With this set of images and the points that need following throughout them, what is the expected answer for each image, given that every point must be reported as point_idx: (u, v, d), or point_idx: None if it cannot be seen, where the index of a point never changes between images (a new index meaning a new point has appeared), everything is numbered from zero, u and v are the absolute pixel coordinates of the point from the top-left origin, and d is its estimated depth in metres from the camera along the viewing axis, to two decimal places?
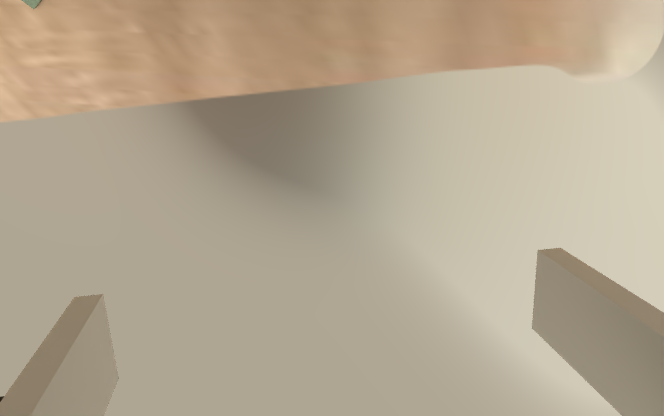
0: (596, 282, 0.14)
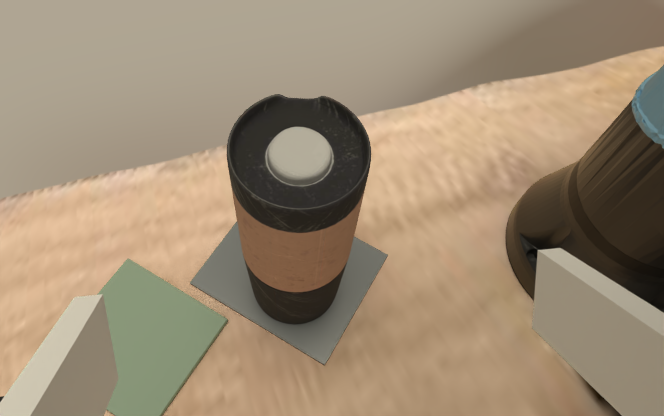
0: (596, 282, 0.14)
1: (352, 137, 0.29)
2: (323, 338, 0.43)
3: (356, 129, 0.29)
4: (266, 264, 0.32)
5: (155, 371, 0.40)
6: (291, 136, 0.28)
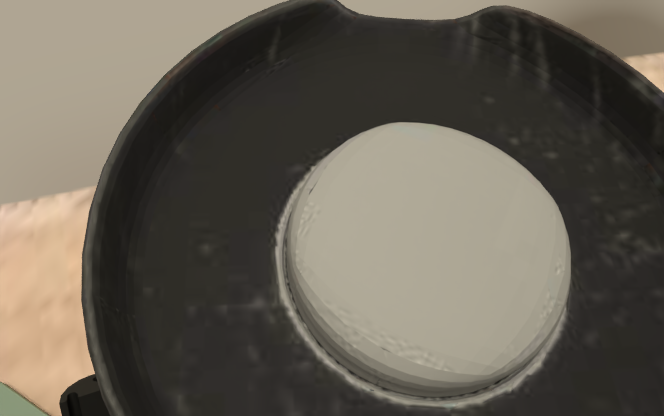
0: None
1: (619, 166, 0.07)
2: None
3: (640, 134, 0.07)
4: None
5: None
6: (392, 163, 0.06)
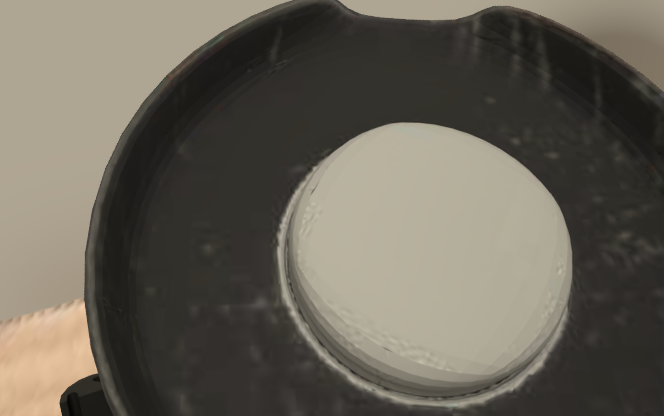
0: None
1: (620, 166, 0.07)
2: None
3: (641, 134, 0.07)
4: None
5: None
6: (394, 164, 0.06)
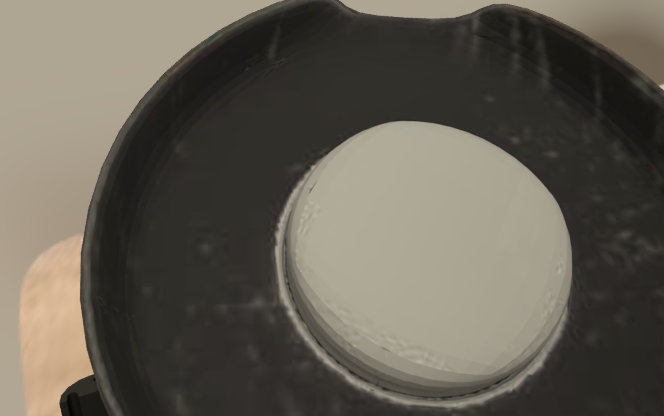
0: None
1: (620, 165, 0.07)
2: None
3: (641, 133, 0.07)
4: None
5: None
6: (393, 162, 0.06)
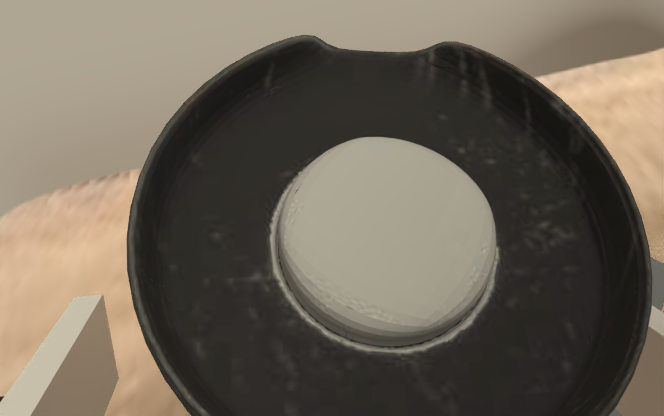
0: None
1: (545, 170, 0.09)
2: None
3: (560, 144, 0.09)
4: None
5: None
6: (360, 170, 0.08)
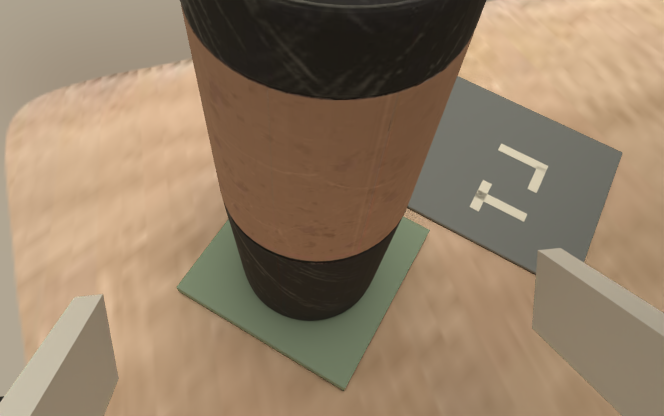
0: (596, 282, 0.14)
1: None
2: None
3: None
4: (263, 200, 0.16)
5: None
6: None
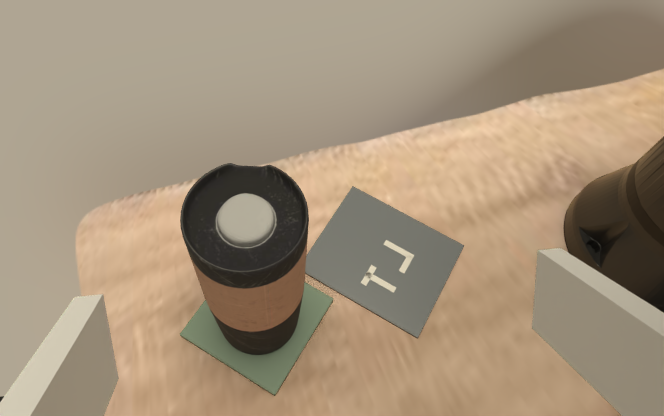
0: (596, 282, 0.14)
1: (294, 202, 0.32)
2: (415, 315, 0.50)
3: (297, 195, 0.32)
4: (221, 309, 0.36)
5: None
6: (239, 202, 0.31)
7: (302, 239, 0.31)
